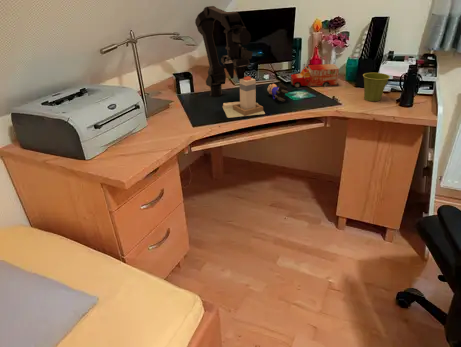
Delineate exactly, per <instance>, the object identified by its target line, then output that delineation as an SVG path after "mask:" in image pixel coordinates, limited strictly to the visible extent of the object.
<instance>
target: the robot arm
mask: <svg viewBox="0 0 461 347" xmlns="http://www.w3.org/2000/svg"><path fill="white" fill-rule="evenodd" d="M216 21H218V22H220V25H221V26H222V27H224V28H225V29H224V30H223V33H224V34H225V39H226V40H225V41H226V46H225V50H226V51H227V55H222V56H221V58H220V62H221V63H222V65H221V64H220V62H219V57H218V52H217V47H216V44H215V40H214V34H213V32H214V29H215V22H216ZM194 23H195V26H196V28H197V32H198V33H199V34H200V36H202V39H203V42H204V46H205V47H204V48H205V51H206V57H207V60H208V64H209V67H208V70H207V78H206V80H205V84H206V86H208V87H209V88H210V93H209V96H213V97H214V98H215V97H217V98H218V97H221V96H222V95H223V92H222V90H223V89H222V85H226V78H227V74H226V72H227V73H228V76H229V77H230V79H231V80H232V79H234V76H235V75H236V78H237V80H238V81H239V83H240V79H243V78H244V77H243V75H244V72H245V69H246V68H247V67H248V66H249V65H250V60H251V59H252V58H253V52H254V51H251V50H247V48H245V47H243V45H244V46H247V45H248V44H250V43H251V40H252V35H251V33H250V31H249V30H247V27H246V26H245V23H244V22H243V19H242V17H241V15H240V13H239V12H237V11H225V10H223V9H220V8H218V7H216V6H214V5H211V6H210V5H209V6H205V7H204V8H203V10H202V11H201V12H200V13H198V14H197V16H196V18H195V22H194Z"/></svg>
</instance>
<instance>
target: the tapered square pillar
mask: <svg viewBox="0 0 461 347" xmlns="http://www.w3.org/2000/svg"><path fill="white" fill-rule="evenodd" d="M256 81H257V80H256V79H255V78H253V77H252V76H249V75H247V76H244V77H242V79H240V82H239V102H240V108H242V109H244V110H248V109H252V108H255V107H256V103H257V102H256V98H257V96H256V94H257V93H256V91H257V90H256V88H257V86H256Z"/></svg>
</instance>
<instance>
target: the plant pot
mask: <svg viewBox="0 0 461 347" xmlns="http://www.w3.org/2000/svg"><path fill="white" fill-rule="evenodd" d="M362 76H363V77H362V78H363V83H364V86H363V88H364V89H363V90H364V91H363V92H364V96H363V97H364V99H365V101H369V102H378V101H380V100H381V99H382V96H383V93H384V91H385V87H386V85H387V83H388V82H389V79H390V78H391V76H390V75H389V74H385V73H383V72H365V73H363V74H362Z"/></svg>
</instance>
